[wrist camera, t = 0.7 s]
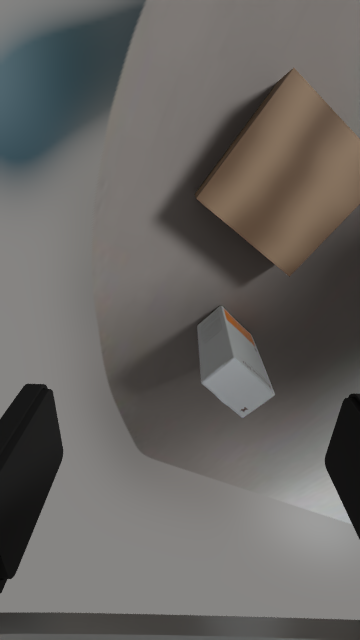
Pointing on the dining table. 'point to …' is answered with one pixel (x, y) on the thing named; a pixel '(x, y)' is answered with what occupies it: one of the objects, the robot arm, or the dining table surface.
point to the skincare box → (232, 363)
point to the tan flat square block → (287, 175)
